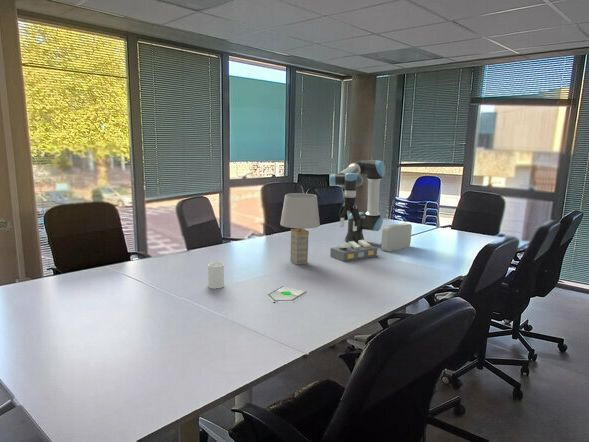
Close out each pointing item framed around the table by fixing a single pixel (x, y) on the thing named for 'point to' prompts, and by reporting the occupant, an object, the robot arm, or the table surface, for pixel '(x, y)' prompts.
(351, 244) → the rocker
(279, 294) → the security device
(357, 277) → the table surface
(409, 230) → the rounded white slab
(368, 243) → the rocker
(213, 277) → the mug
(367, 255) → the switch unit
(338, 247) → the rocker
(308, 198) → the lamp
